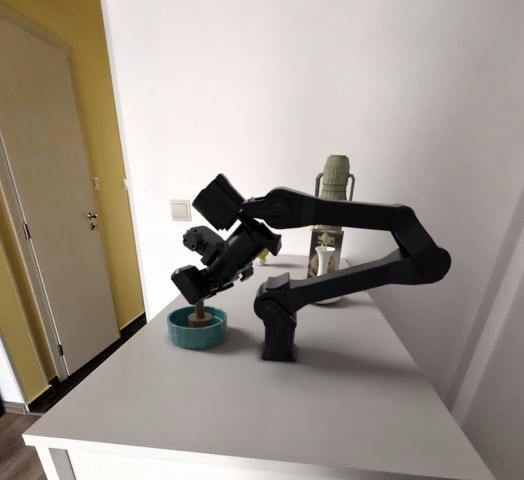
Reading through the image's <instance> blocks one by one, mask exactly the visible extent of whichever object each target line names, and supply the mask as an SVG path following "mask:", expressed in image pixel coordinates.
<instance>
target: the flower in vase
mask: <svg viewBox="0 0 524 480" xmlns="http://www.w3.org/2000/svg"><path fill="white" fill-rule="evenodd" d="M314 228H317V225H313V226H308V227H307V230H308V231H307V232H308V233H312V230H313V229H314ZM324 228H325V233H324V234H323V235H322V237H321V239H322V240H323V244H322V245H321V247H316V250H317V252H318V256H319V270H318V274H317V276H319V275H322V274H326V273H327V267H328V263H329V259H330V257H331V255H332V253H333V252H334V251H335V249H334V248H332V247H327V244H328V243H330V242H331V239H330V238H329V236H328V234H327V230H326V226H325V225H324ZM324 243H325V244H326V245H325V247H323V245H324ZM341 298H342V296H340V297H336V298H333V299H329V300H325V301H321V302H317V303H316V304H323V305H324V304H332V303H336V302H338V301H339V300H340V299H341Z"/></svg>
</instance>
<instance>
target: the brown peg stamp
mask: <svg viewBox="0 0 524 480" xmlns="http://www.w3.org/2000/svg"><path fill="white" fill-rule="evenodd" d="M194 306H195V313H192V314H190V315H189V316H188V320H189V328H203V327H208V326H213V324H212V315H211V314H209V313H206V312H204V306H205V300H204V301H202V302H200V303H198V304H196V305H194Z"/></svg>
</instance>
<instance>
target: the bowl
mask: <svg viewBox="0 0 524 480" xmlns="http://www.w3.org/2000/svg"><path fill="white" fill-rule="evenodd" d="M204 312H206V313H209V314H211V315H212V324H213V326H208V327H203V328H189V320H188V316H189V315H190V314H192V313H195V305H194V306H193V305H188V306H181V307H180V308H176V309H174V310H172V311H171V312H169V313H168V315H167V316H166V323H167V324H166V325H167V332H168V339H169V340H170V341H171V343H173V344H174V345H175V346H177V347H180V348H183V349H188V350H202V349H203V350H204V349H208V348H213V347H215V346H218V345H219V344H222V342H224V340H226V338H227V336H228V315H227V313H226V311H225V310H223V309H221V308H219V307H216V306H211V305H204Z"/></svg>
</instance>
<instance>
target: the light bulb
mask: <svg viewBox="0 0 524 480" xmlns="http://www.w3.org/2000/svg"><path fill="white" fill-rule="evenodd" d="M269 254H270V252H269V251H268V250H267V249H265V250H264V251H263V252H262V253H261V254H260V255H259V256H258V257H257V258H256V262H257V265H258V266H260V267H263V266H265V265H266V263H267V259H266V257H267V256H268V255H269Z"/></svg>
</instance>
